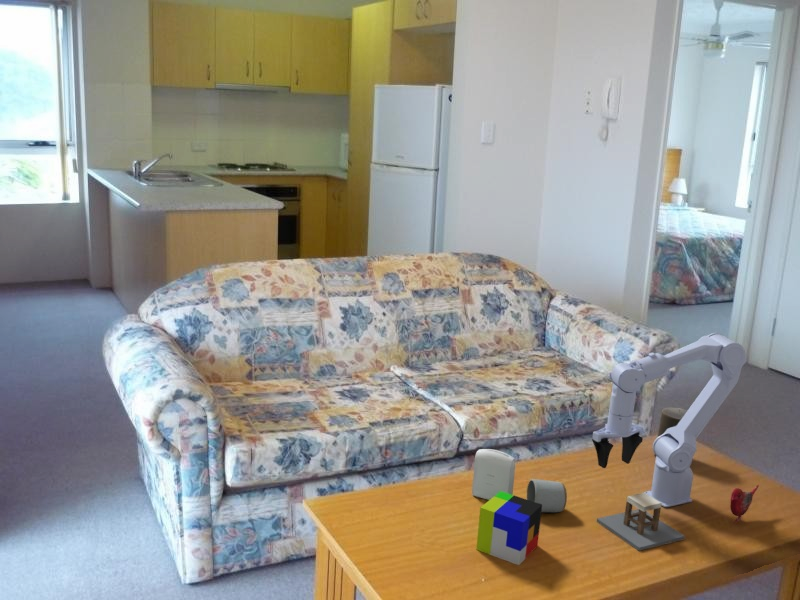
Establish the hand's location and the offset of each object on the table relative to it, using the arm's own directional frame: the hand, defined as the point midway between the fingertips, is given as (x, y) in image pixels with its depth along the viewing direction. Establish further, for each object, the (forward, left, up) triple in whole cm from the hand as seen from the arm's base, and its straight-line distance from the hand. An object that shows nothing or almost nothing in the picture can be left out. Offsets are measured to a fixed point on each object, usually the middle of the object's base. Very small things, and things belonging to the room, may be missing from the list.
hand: (613, 464), depth 205 cm
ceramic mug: (+19, -2, -10) cm, 21 cm away
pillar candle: (-35, -13, -10) cm, 39 cm away
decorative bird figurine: (-24, +20, -10) cm, 33 cm away
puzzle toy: (+38, +10, -10) cm, 40 cm away
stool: (+4, +15, -9) cm, 18 cm away
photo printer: (+28, -11, -10) cm, 32 cm away
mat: (+4, +15, -9) cm, 18 cm away
